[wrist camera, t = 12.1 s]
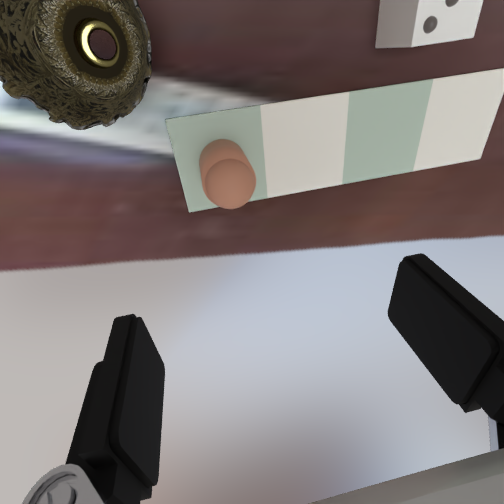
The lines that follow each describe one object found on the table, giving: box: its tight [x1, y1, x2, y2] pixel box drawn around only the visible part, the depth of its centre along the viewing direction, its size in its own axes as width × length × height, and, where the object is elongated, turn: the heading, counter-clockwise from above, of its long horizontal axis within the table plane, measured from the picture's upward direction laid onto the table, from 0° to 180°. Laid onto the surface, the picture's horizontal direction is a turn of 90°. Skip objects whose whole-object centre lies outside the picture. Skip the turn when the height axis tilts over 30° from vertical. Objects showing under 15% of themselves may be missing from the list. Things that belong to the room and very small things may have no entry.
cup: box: [0, 0, 152, 130], centre depth 16 cm, size 7×7×8 cm
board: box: [165, 68, 504, 212], centre depth 26 cm, size 30×8×1 cm, turn 96°
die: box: [375, 0, 483, 48], centre depth 20 cm, size 4×4×5 cm
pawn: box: [199, 139, 256, 209], centre depth 22 cm, size 4×4×6 cm
